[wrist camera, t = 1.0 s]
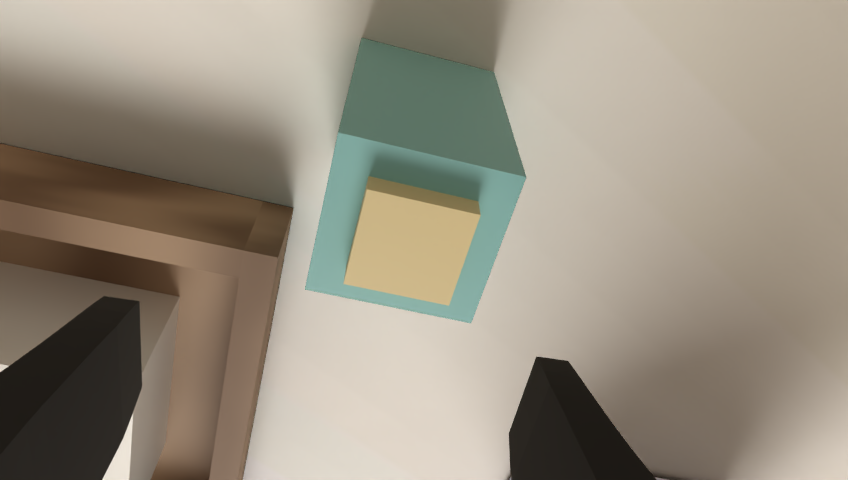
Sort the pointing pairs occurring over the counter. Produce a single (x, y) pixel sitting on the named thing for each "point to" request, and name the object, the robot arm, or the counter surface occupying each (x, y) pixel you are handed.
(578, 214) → the counter surface
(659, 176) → the counter surface
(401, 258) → the plug
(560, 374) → the robot arm
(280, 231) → the parts box
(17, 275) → the frame
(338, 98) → the counter surface
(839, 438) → the counter surface
